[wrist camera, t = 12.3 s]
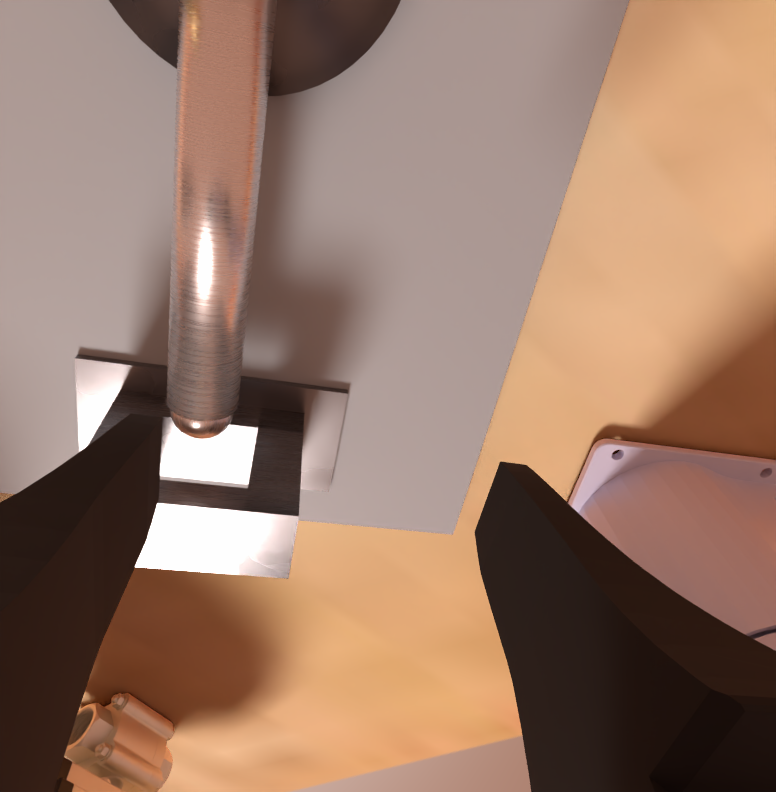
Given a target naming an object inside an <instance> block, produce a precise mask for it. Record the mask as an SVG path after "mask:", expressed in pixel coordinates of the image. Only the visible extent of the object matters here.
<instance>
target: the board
mask: <svg viewBox="0 0 776 792" xmlns="http://www.w3.org/2000/svg"><path fill="white" fill-rule="evenodd" d="M628 3H629V0H401V1H400V3H399V5H398V8H397V10H396V12H395V14H394V15H393V17H392V19H391V20H390V22H389V23H388V25H387V27H386V28H385V30H384V32H383V33H382V34H381V35H380V37H379V38H378V39H377V40H376V42H375V43H374V44H373V45H372V47H371V48H370V49H369V50H368V51H367V52H366V53H365V54H364V55H363V56H362V57H361V58H360V59H359V60H358V61H357V62H356V63H354V64H353V65H352V66H351V67H349V68H348V69H346V70H345V71H344V72H342V73H341V74H339V75H338V76H336V77H335V78H333V79H331V80H329V81H327V82H325V83H323V84H321V85H319V86H316V87H313V88H310V89H308V90H305V91H302V92H298V93H293V94H287V95H282V96H268V100H267V110H266V121H265V131H264V142H263V152H262V162H261V173H260V183H259V194H258V204H257V214H256V225H255V235H254V246H253V256H252V266H251V277H250V287H249V298H248V308H247V318H246V329H245V339H244V350H243V360H242V370H241V376H248V377H256V378H263V379H271V380H279V381H286V382H294V383H301V384H309V385H316V386H324V387H332V388H339V389H347V390H348V397H347V402H346V407H345V413H344V418H343V423H342V428H341V433H340V438H339V444H338V449H337V454H336V459H335V464H334V469H333V474H332V480H331V485H330V490H329V492H322V491H312V490H303V489H300V504H299V518H298V520H300V521H311V522H322V523H333V524H344V525H355V526H365V527H376V528H387V529H398V530H409V531H419V532H430V533H441V534H452V535H453V533H454V530H455V527H456V524H457V521H458V518H459V515H460V512H461V509H462V506H463V503H464V500H465V497H466V494H467V490H468V487H469V484H470V481H471V478H472V475H473V472H474V469H475V466H476V463H477V460H478V457H479V454H480V451H481V448H482V445H483V442H484V439H485V436H486V433H487V430H488V427H489V424H490V421H491V418H492V415H493V412H494V409H495V406H496V403H497V400H498V397H499V394H500V391H501V388H502V384H503V381H504V378H505V375H506V372H507V369H508V366H509V363H510V360H511V357H512V354H513V351H514V348H515V345H516V342H517V339H518V336H519V333H520V330H521V327H522V324H523V321H524V318H525V315H526V312H527V309H528V306H529V303H530V300H531V297H532V294H533V291H534V288H535V285H536V282H537V278H538V275H539V272H540V269H541V266H542V263H543V260H544V257H545V254H546V251H547V248H548V245H549V242H550V239H551V236H552V233H553V230H554V227H555V224H556V221H557V218H558V215H559V212H560V209H561V206H562V203H563V200H564V197H565V194H566V191H567V188H568V185H569V182H570V179H571V175H572V172H573V169H574V166H575V163H576V160H577V157H578V154H579V151H580V148H581V145H582V142H583V139H584V136H585V133H586V130H587V127H588V124H589V121H590V118H591V115H592V112H593V109H594V106H595V103H596V100H597V97H598V94H599V91H600V88H601V85H602V82H603V79H604V76H605V73H606V69H607V66H608V63H609V60H610V57H611V54H612V51H613V48H614V45H615V42H616V39H617V36H618V33H619V30H620V27H621V24H622V21H623V18H624V15H625V12H626V9H627V6H628ZM176 84H177V69H176V68H175V67H173V66H172V65H170V64H169V63H168V62H166V61H165V60H163V59H162V58H161V57H159V56H158V55H157V54H156V53H155V52H154V51H152V50H151V49H150V48H149V47H148V46H147V45H146V44H145V43H144V42H142V41H141V40H140V39H139V37H138V36H137V35H136V34H135V33H134V32H133V31H132V30H131V29H130V27H129V26H128V25H127V24H126V23H125V22H124V21H123V19H122V18H121V17H120V15H119V14H118V12H117V11H116V10H115V8H114V7H113V6H112V4H111V3H110V1H109V0H0V493H9V494H17V493H18V492H20V491H22V490H23V489H25V488H26V487H28V486H30V485H31V484H33V483H34V482H36V481H37V480H39V479H40V478H42V477H44V476H45V475H47V474H48V473H50V472H51V471H53V470H54V469H56V468H57V467H59V466H60V465H62V464H63V463H65V462H66V461H67V460H69V459H70V458H71V457H73V456H74V455H76V454H77V453H78V452H79V436H78V416H77V396H76V376H75V357H76V356H77V354H81V355H89V356H96V357H104V358H112V359H119V360H127V361H134V362H142V363H150V364H157V365H165V366H168V341H169V309H170V277H171V244H172V212H173V180H174V148H175V116H176ZM160 480H170V481H180V482H190V483H200V484H210V485H220V486H230V487H240V488H248V485H247V484H237V483H227V482H218V481H208V480H198V479H188V478H178V477H168V476H160Z"/></svg>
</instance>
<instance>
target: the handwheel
mask: <svg viewBox="0 0 776 792" xmlns="http://www.w3.org/2000/svg"><path fill="white" fill-rule="evenodd" d="M109 1H110V3H111V4H112V6H113V7H114V8H115V10H116V11H117V12H118V14H119V15H120V17H121V18H122V19H123V21H124V22H125V23H126V24H127V25H128V26H129V27H130V29H131V30H132V31H133V32H134V33H135V34H136V35H137V36H138V37H139V39H140V40H141V41H142V42H144V43H145V44H146V45H147V46H148V47H149V48H150V49H151V50H152V51H154V52H155V53H156V54H157V55H158V56H159V57H161V58H162V59H163V60H165V61H166V62H168V63H169V64H170V65H172V66H173V67H175V68H176V69H177V51H178V19H179V0H109ZM400 1H401V0H277V6H276V17H275V27H274V38H273V48H272V58H271V69H270V79H269V90H268V96H282V95H287V94H293V93H298V92H302V91H305V90H308V89H310V88H313V87H316V86H319V85H321V84H323V83H325V82H327V81H329V80H331V79H333V78H335V77H336V76H338V75H339V74H341V73H342V72H344V71H345V70H346V69H348V68H349V67H351V66H352V65H353V64H354V63H356V62H357V61H358V60H359V59H360V58H361V57H362V56H363V55H364V54H365V53H366V52H367V51H368V50H369V49H370V48H371V47H372V45H373V44H374V43H375V42H376V40H377V39H378V38H379V37H380V35H381V34H382V33H383V32H384V30H385V28H386V27H387V25H388V23H389V22H390V20H391V19H392V17H393V15H394V14H395V12H396V10H397V8H398V5H399V3H400Z"/></svg>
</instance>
